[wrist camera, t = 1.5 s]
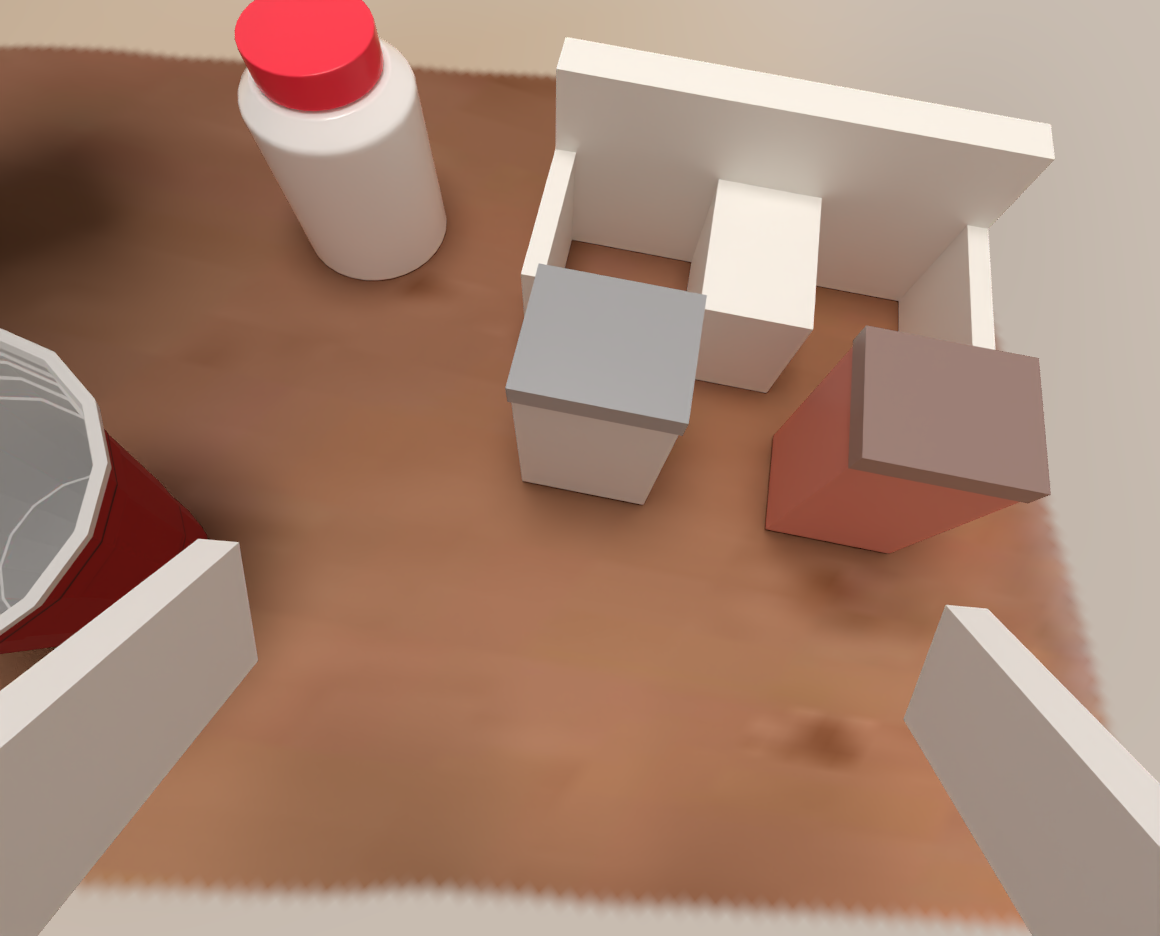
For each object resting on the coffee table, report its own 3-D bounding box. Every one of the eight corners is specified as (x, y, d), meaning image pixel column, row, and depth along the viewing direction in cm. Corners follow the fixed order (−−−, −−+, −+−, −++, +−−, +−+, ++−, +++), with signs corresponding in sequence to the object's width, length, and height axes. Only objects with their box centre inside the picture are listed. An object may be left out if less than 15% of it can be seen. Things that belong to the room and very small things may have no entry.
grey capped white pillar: (519, 482, 29) (505, 388, 20) (542, 389, 31) (538, 263, 22) (644, 507, 29) (688, 423, 20) (660, 412, 31) (706, 295, 22)
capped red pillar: (763, 530, 29) (862, 457, 20) (771, 433, 31) (866, 325, 21) (890, 556, 29) (1050, 494, 20) (891, 457, 31) (1038, 358, 21)
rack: (526, 346, 32) (515, 205, 23) (561, 209, 35) (565, 37, 26) (916, 422, 32) (1071, 309, 22) (915, 276, 35) (1050, 124, 25)
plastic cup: (218, 721, 25) (-52, 749, 14) (-28, 668, 25) (-487, 653, 14) (309, 482, 29) (154, 351, 18) (93, 438, 29) (-194, 281, 18)
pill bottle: (473, 235, 34) (440, 41, 24) (358, 305, 32) (267, 127, 22) (397, 153, 36) (336, -59, 26) (283, 215, 34) (168, 12, 24)
